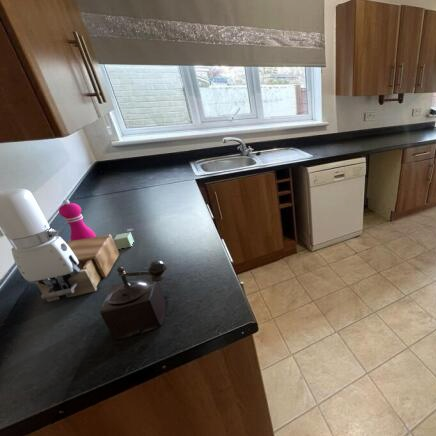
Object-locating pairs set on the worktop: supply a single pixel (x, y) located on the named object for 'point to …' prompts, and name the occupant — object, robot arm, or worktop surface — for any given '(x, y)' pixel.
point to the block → (123, 240)
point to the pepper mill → (75, 221)
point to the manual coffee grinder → (135, 303)
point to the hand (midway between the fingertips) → (66, 294)
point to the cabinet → (96, 251)
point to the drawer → (76, 282)
